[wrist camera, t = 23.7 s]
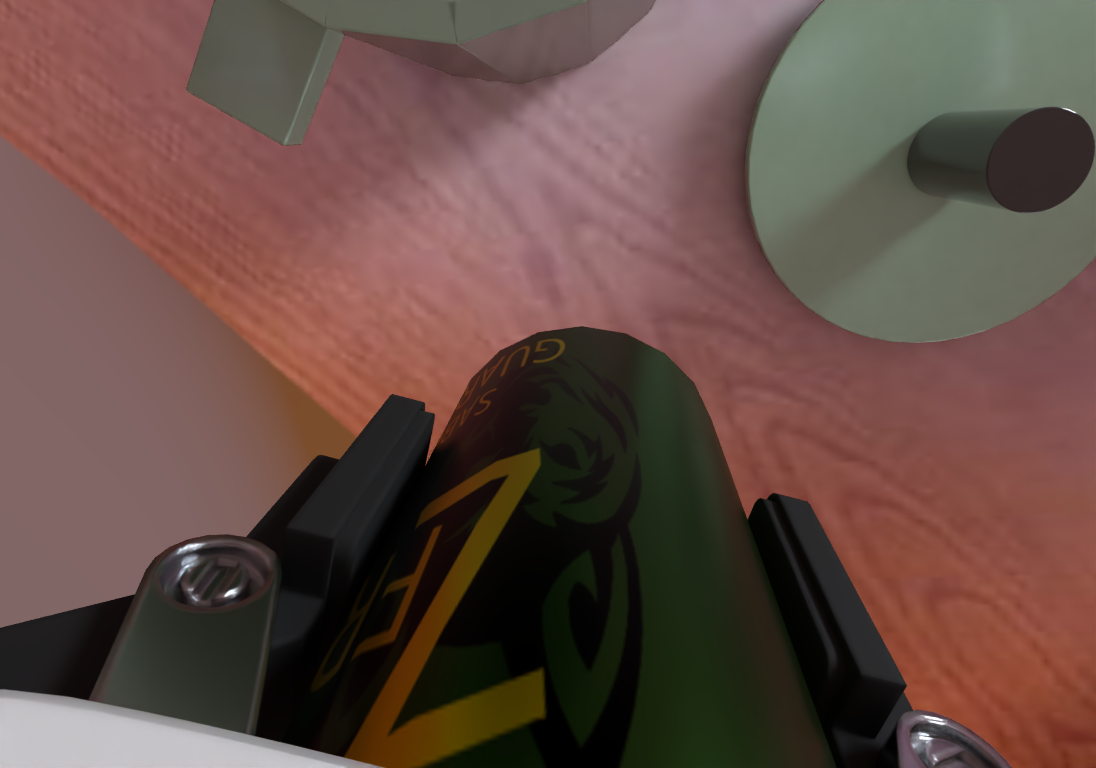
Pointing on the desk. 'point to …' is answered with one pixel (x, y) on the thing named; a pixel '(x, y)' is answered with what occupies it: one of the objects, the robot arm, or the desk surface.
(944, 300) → the lid
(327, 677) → the beer can
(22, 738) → the robot arm
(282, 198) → the desk surface
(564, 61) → the pot
